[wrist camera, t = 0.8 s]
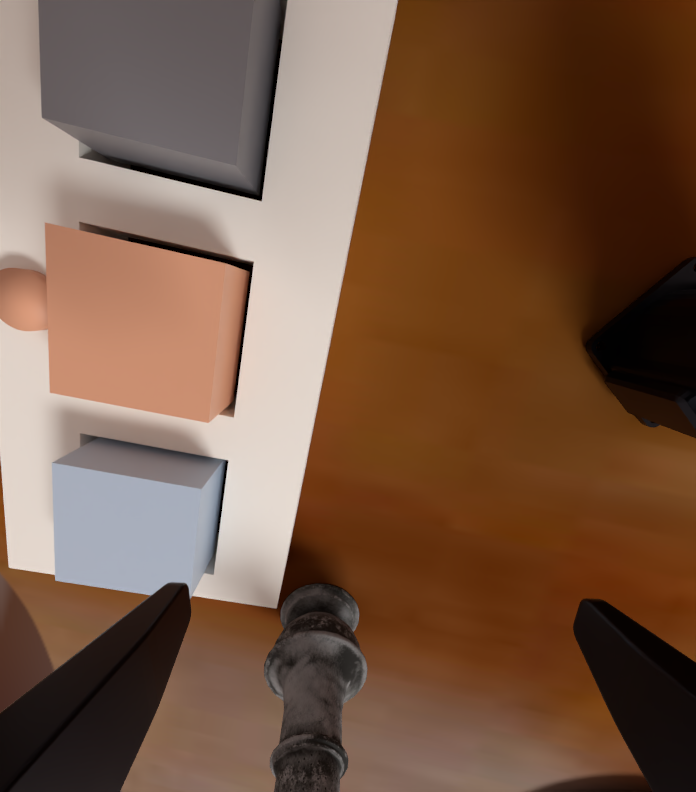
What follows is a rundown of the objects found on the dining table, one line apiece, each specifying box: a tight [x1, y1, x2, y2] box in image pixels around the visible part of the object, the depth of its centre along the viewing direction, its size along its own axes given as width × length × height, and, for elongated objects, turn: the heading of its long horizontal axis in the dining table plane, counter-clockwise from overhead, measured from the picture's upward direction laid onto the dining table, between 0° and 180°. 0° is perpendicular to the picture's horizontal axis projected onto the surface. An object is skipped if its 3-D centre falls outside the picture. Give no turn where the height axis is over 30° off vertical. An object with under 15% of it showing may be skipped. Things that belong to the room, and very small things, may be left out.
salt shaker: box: [264, 583, 367, 792], centre depth 16 cm, size 6×6×12 cm
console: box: [0, 0, 398, 609], centre depth 15 cm, size 28×14×4 cm, turn 168°
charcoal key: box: [38, 0, 282, 196], centre depth 11 cm, size 6×6×3 cm
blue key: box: [52, 437, 226, 599], centre depth 16 cm, size 6×6×3 cm
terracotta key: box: [45, 223, 250, 423], centre depth 13 cm, size 6×6×3 cm
